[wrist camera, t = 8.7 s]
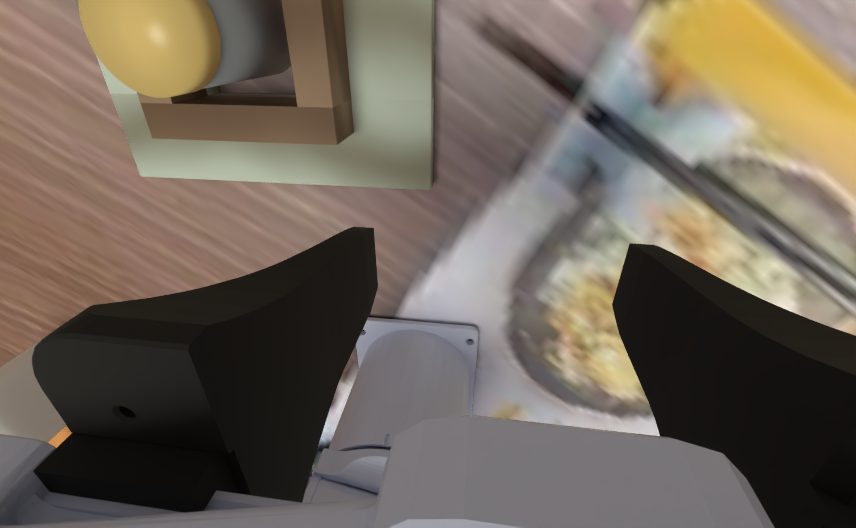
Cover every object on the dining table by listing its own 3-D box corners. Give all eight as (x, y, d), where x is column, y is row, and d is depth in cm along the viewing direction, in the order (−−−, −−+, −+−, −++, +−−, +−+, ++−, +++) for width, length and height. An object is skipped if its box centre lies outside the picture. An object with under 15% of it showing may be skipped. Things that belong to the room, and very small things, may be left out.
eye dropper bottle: (67, 364, 33) (-126, 515, 22) (61, 315, 30) (-164, 464, 20) (119, 383, 33) (-47, 541, 23) (118, 337, 30) (-73, 494, 20)
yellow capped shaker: (302, 81, 19) (208, 105, 13) (229, 70, 19) (100, 89, 13) (298, -12, 17) (186, -38, 11) (217, -23, 18) (60, -54, 11)
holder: (432, 183, 21) (423, 209, 18) (153, 170, 23) (102, 191, 20) (436, -206, 14) (421, -272, 11) (31, -180, 16) (-77, -230, 13)
